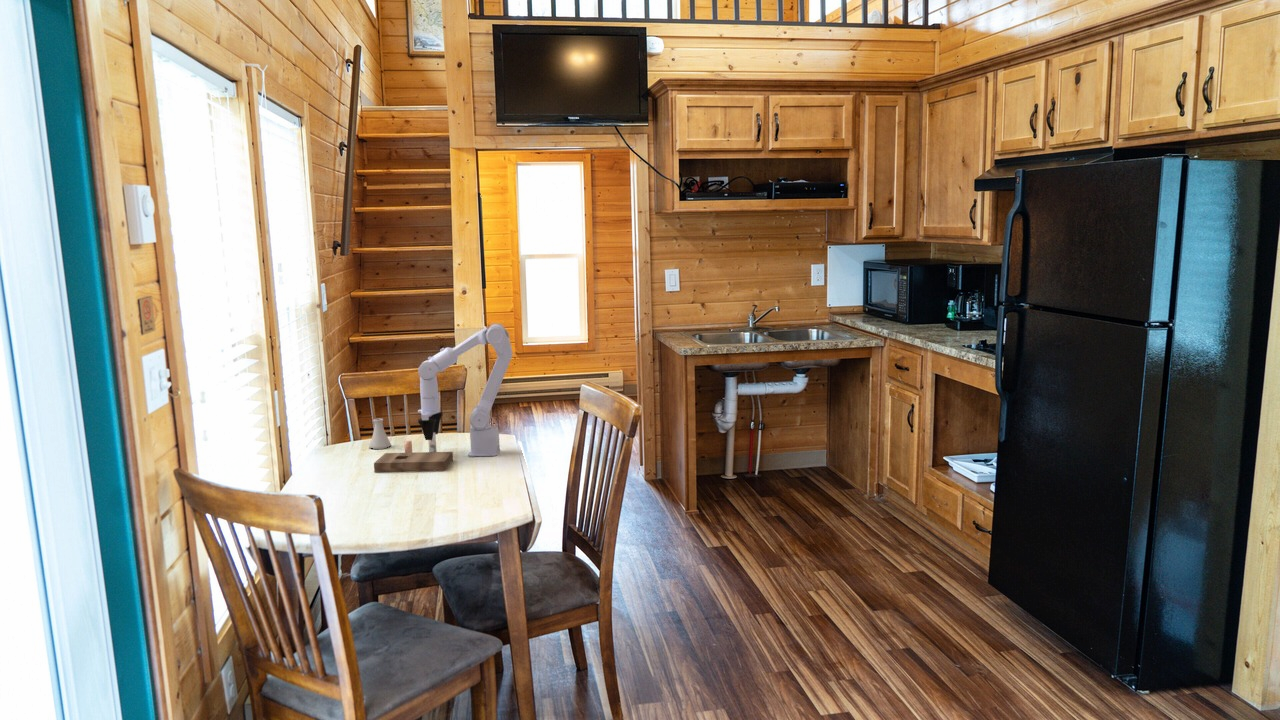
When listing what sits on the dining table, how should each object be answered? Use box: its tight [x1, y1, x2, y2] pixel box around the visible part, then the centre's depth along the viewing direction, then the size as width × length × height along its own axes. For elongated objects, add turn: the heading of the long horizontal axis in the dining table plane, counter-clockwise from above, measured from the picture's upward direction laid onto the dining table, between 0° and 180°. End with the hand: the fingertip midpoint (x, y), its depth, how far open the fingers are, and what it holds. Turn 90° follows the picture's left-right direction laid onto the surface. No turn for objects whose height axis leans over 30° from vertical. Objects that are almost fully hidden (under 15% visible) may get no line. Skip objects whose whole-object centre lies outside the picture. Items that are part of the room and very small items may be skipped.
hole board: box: [373, 451, 454, 473], centre depth 267 cm, size 22×12×3 cm, turn 90°
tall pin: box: [428, 432, 438, 452], centre depth 279 cm, size 2×2×8 cm
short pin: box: [403, 440, 413, 453], centre depth 282 cm, size 2×2×4 cm
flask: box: [368, 418, 392, 450], centre depth 292 cm, size 7×7×10 cm
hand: (431, 436), depth 278 cm, fingers open, 7 cm apart
